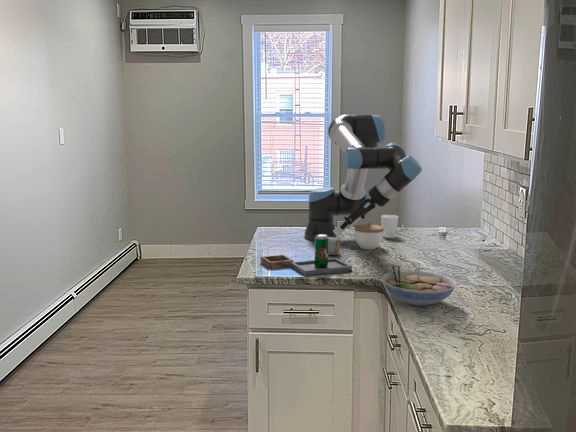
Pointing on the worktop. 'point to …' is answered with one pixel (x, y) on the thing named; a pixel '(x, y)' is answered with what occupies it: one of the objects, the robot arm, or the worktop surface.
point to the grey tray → (309, 268)
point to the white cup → (389, 225)
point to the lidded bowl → (368, 235)
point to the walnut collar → (276, 261)
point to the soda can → (321, 251)
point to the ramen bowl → (418, 286)
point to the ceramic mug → (333, 246)
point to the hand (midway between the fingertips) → (340, 230)
